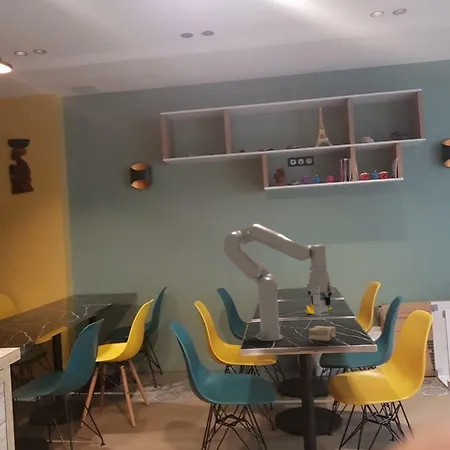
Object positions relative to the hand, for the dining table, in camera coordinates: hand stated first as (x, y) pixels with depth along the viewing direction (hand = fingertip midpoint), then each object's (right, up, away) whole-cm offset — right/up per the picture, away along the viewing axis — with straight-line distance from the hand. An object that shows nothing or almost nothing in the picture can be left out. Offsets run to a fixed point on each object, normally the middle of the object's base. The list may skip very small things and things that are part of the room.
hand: (321, 304), depth 258 cm
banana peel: (+12, -17, +72) cm, 75 cm away
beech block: (+1, -17, 0) cm, 17 cm away
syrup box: (0, -5, 0) cm, 5 cm away
